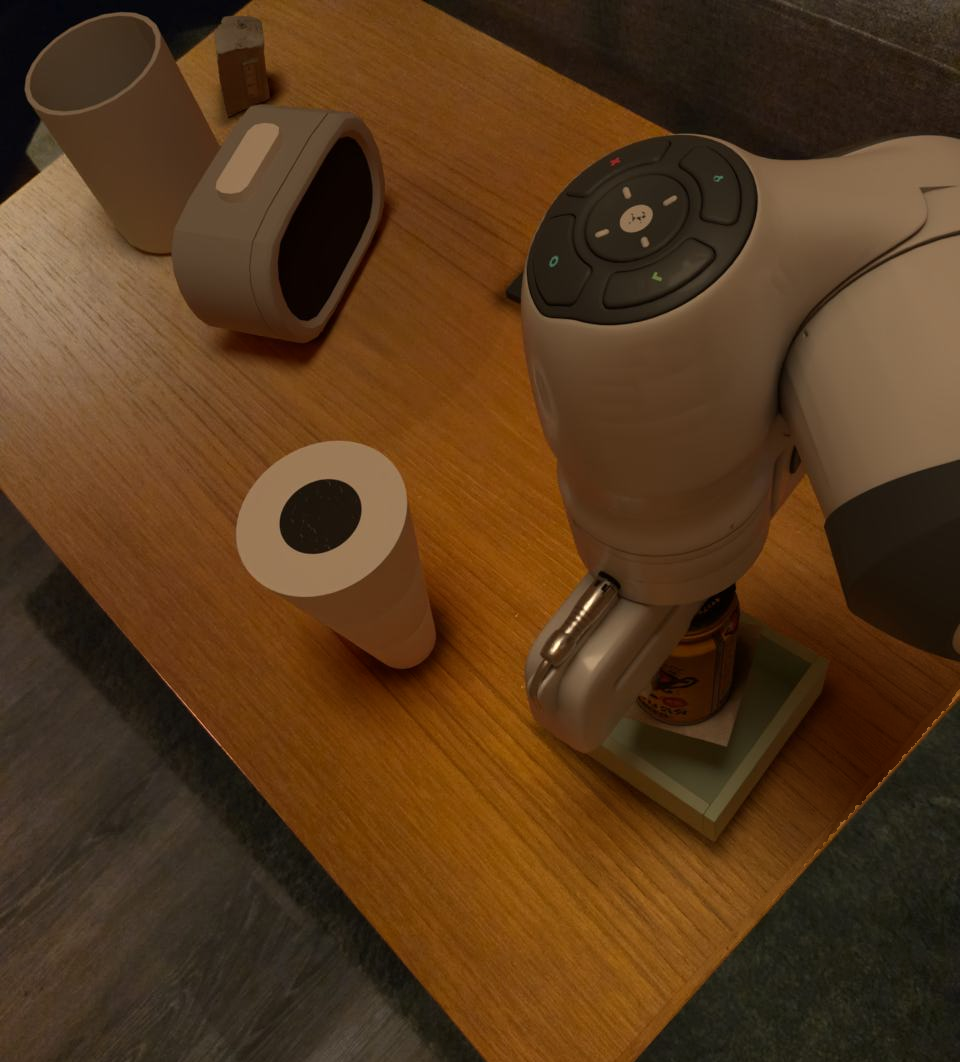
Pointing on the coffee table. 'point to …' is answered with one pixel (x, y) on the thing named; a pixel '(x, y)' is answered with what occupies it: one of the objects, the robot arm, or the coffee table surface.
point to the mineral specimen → (241, 62)
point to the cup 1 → (124, 122)
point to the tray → (711, 769)
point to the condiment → (704, 674)
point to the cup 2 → (341, 547)
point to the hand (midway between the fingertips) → (681, 630)
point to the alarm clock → (280, 222)
